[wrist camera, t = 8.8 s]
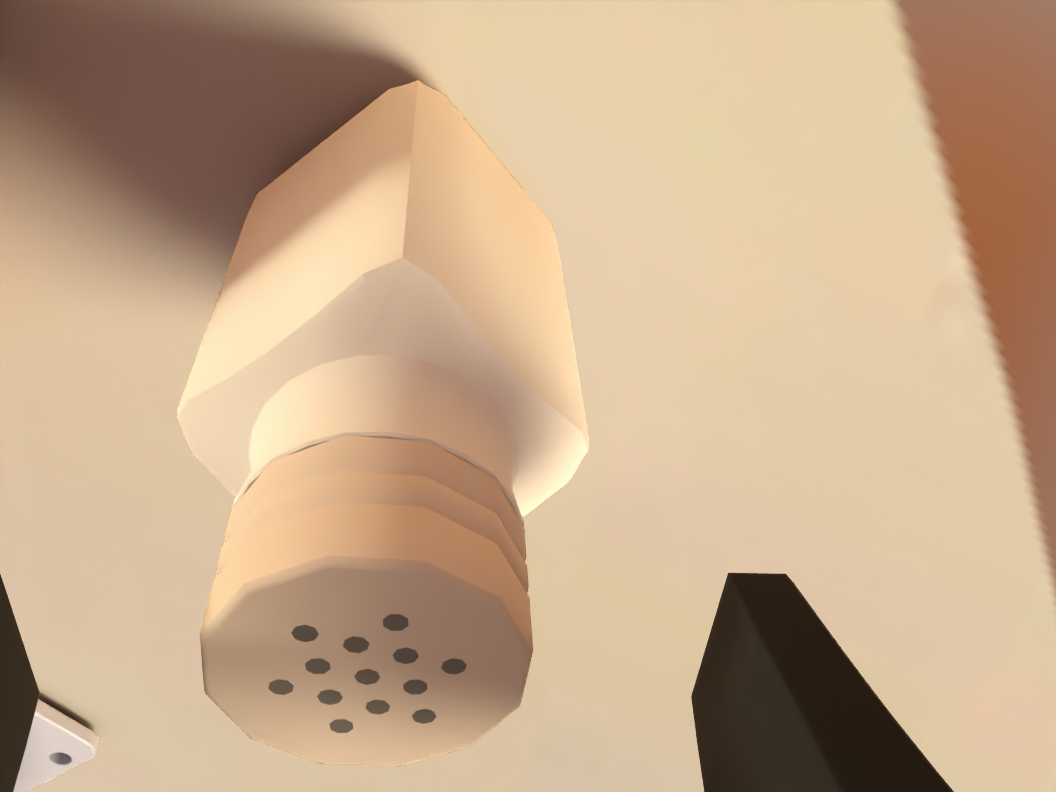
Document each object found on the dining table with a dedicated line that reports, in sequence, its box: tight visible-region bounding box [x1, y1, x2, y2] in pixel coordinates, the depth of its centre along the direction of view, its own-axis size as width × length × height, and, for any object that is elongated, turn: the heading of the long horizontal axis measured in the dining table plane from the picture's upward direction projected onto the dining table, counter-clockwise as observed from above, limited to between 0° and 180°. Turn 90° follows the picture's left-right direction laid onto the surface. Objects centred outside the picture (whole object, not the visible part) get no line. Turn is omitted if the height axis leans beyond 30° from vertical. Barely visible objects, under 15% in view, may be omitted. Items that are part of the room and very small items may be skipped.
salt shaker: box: [177, 80, 590, 766], centre depth 13 cm, size 4×4×10 cm
